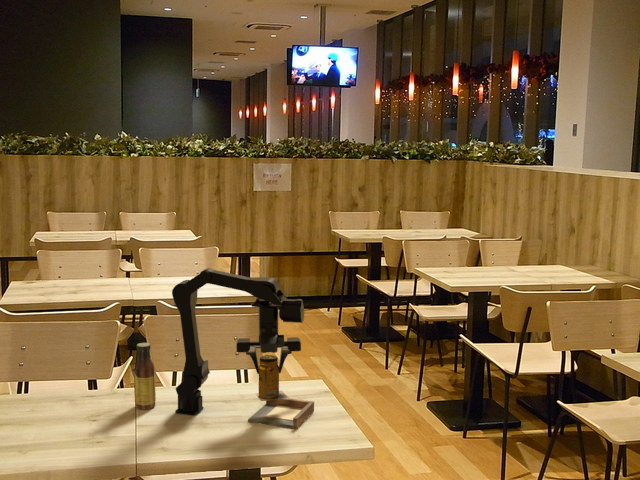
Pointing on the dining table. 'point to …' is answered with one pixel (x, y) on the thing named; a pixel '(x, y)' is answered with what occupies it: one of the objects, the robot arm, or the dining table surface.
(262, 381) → the condiment
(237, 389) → the dining table surface
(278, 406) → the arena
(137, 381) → the sauce bottle
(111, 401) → the dining table surface
